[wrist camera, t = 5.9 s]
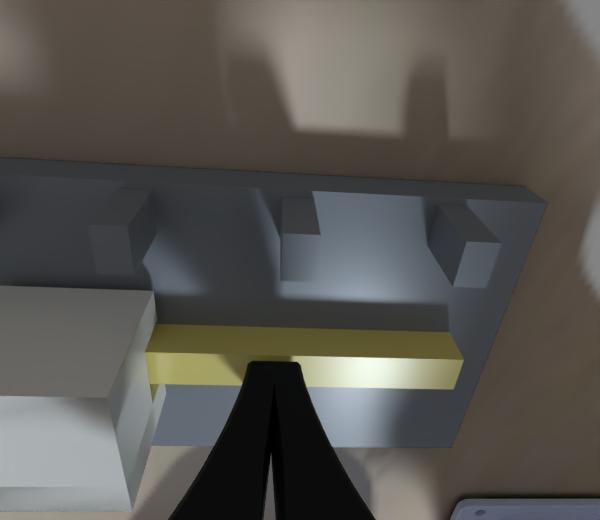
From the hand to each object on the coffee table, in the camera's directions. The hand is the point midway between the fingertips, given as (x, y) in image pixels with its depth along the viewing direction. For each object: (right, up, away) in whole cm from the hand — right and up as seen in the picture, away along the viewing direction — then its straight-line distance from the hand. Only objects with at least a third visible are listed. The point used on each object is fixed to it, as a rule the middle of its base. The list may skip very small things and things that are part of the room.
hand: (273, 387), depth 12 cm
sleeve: (-5, +1, +1) cm, 6 cm away
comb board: (-2, +2, +2) cm, 3 cm away
